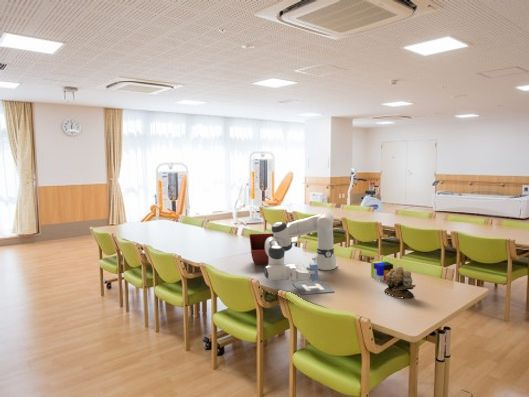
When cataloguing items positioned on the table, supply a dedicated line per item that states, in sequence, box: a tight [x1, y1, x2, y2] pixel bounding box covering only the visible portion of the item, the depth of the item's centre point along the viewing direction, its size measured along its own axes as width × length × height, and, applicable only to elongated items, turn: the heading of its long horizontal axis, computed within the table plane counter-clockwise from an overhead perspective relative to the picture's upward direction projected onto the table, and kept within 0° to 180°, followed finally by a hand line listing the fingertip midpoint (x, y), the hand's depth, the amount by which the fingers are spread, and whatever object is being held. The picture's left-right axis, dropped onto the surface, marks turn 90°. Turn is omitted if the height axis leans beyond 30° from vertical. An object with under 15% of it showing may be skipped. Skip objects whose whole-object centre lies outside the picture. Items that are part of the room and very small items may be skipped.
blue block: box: [309, 262, 319, 282], centre depth 237 cm, size 4×4×10 cm
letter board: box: [292, 280, 335, 296], centre depth 238 cm, size 20×20×1 cm
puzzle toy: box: [370, 260, 394, 281], centre depth 255 cm, size 10×10×10 cm
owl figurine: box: [383, 265, 417, 299], centre depth 225 cm, size 18×12×17 cm, turn 46°
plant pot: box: [248, 232, 274, 265], centre depth 292 cm, size 19×19×17 cm
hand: (314, 270), depth 237 cm, fingers closed on blue block, 4 cm apart
